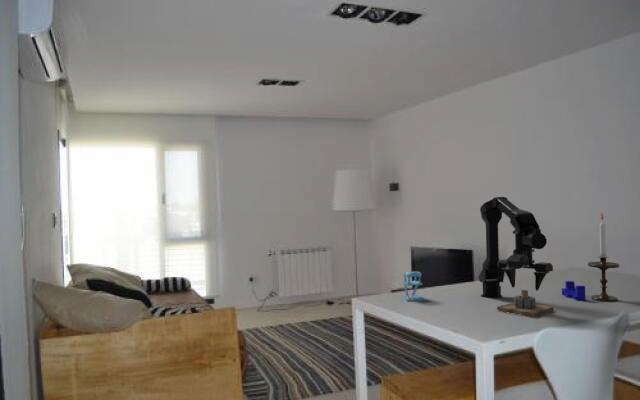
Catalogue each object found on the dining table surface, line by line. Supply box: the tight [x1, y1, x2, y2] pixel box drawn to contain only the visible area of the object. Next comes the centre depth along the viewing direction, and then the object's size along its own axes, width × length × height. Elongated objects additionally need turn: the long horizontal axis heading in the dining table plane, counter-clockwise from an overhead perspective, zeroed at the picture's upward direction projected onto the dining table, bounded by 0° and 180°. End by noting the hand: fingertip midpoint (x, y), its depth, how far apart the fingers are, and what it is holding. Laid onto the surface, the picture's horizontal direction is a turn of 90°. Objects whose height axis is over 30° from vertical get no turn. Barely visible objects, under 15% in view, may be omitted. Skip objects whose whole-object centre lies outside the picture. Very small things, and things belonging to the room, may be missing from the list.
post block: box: [496, 289, 554, 318], centre depth 177 cm, size 14×14×8 cm
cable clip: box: [561, 280, 586, 302], centre depth 197 cm, size 12×4×6 cm, turn 173°
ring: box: [513, 295, 536, 309], centre depth 177 cm, size 7×7×4 cm
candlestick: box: [587, 212, 620, 303], centre depth 192 cm, size 11×11×35 cm
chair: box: [402, 271, 426, 302], centre depth 203 cm, size 8×8×12 cm
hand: (524, 288), depth 176 cm, fingers open, 9 cm apart
